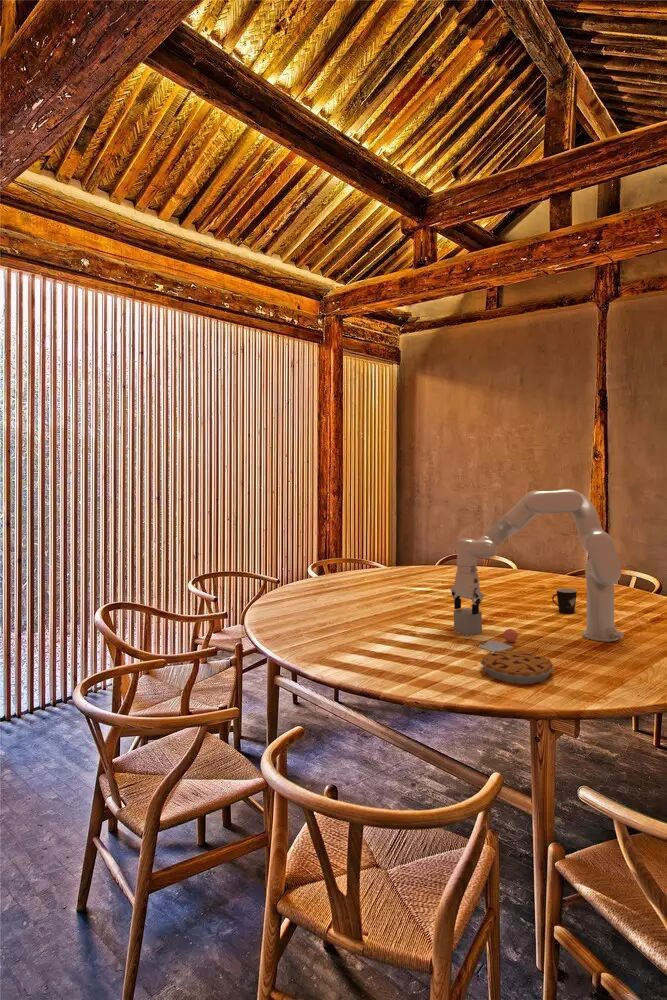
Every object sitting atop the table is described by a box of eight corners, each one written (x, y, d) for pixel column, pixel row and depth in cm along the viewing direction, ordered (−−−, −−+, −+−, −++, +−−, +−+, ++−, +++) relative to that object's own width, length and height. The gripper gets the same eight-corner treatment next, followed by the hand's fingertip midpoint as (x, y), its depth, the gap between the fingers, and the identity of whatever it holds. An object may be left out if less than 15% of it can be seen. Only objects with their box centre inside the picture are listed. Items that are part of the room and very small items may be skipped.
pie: (567, 675, 171) (567, 659, 171) (525, 692, 158) (525, 676, 158) (509, 657, 189) (509, 643, 188) (467, 671, 176) (467, 656, 176)
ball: (520, 642, 203) (520, 629, 203) (511, 644, 201) (511, 631, 201) (509, 639, 208) (509, 626, 207) (500, 641, 205) (500, 628, 205)
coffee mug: (573, 609, 248) (573, 588, 248) (579, 614, 240) (579, 592, 239) (547, 609, 249) (547, 588, 249) (552, 614, 241) (552, 592, 240)
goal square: (513, 647, 198) (513, 646, 198) (495, 652, 193) (495, 652, 193) (492, 640, 206) (492, 640, 206) (474, 645, 201) (474, 645, 201)
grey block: (481, 633, 216) (481, 611, 216) (468, 636, 212) (467, 614, 212) (467, 628, 223) (467, 607, 222) (454, 631, 219) (453, 610, 218)
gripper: (489, 571, 211) (489, 614, 212) (458, 565, 226) (457, 605, 226) (476, 573, 207) (475, 617, 208) (444, 567, 222) (444, 608, 223)
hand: (466, 611), depth 217 cm, fingers open, 9 cm apart
